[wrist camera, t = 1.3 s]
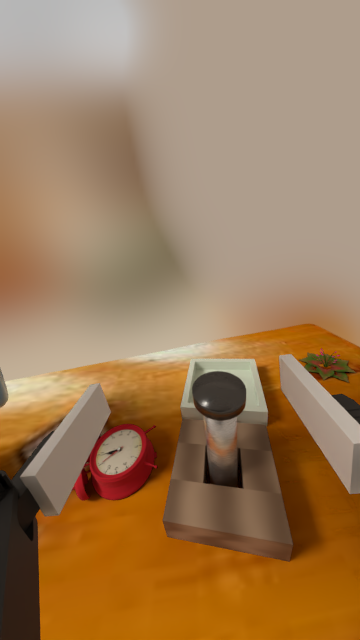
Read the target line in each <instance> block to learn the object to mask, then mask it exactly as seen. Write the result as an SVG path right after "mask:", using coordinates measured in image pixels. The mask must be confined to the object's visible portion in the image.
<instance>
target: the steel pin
mask: <svg viewBox="0 0 360 640" xmlns="http://www.w3.org/2000/svg"><path fill="white" fill-rule="evenodd" d="M192 394H193V402H194V405H195V408H196V409H197V410H198V412H199V413H201V414H202V415H203V416H204V426H205V435H206V445H207V455H208V464H209V474H210V483H211V484H213V485H220V486H228V487H235V488H237V487H238V465H237V416H238V415H240V414H241V413H242V412H243V410H244V408H245V406H246V387H245V384H244V383H243V381H242V380H241V379H240V378H238V377H237V376H235V375H233V374H231V373H228V372H223V371H213V372H208V373H205V374H203V375H201V376H200V377H198V378H197V379H196V380H195V382H194V383H193V386H192Z"/></svg>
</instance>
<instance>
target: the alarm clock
mask: <svg viewBox="0 0 360 640" xmlns="http://www.w3.org/2000/svg"><path fill="white" fill-rule="evenodd" d="M155 427H156V426H155V425H154V426H153V427H152V428H150V429H149V430H147V431H146V432H144V431H143V430H142V429H141V428H140V427H138V426H136V425H133V424H123V425H119V426H116V427H114V428H112V429H110V430H109V431H107V432H106V433H105V434H104V435H102V436H101V437H100V435H99V437H98V439H97V441H96V443H95V445H94V447H93V449H92V451H91V453H90V455H89V457H88V459H87V461H86V462H90V463H89V464H86V463H85V465H84V467H85V466H87V465H90V470H89V471H87V472H86V471H85V469H84V468H83V469H82V471H81V473H80V475H79V477H78V479H77V481H76V483H75V485H74V486H75V487H73V488H72V490H74V489H75V490H76V494H77V496H78V497H79V499H81V500H87V499H89V498H90V495H89V496H87V494H86V492H85V489H84V486H85V485H86V484H87V483H88V482H89V481H88V477H87V473H88V472H90V471H91V473H92V474H91V478H92V484H93V487H94V489H95V491H96V492H97V493H98V494H99V495H100V496H101V497H103V498H105V499H108V500H119V499H123V498H125V497H128V496H130V495H131V494H133V493H134V492H136V491H137V490H138V489H139V488H140V487H141V486H142V485H143V484H144V483H145V481H146V480H147V479H148V477H149V475H150V473H151V471H152V468H153V467H155V469H157V467H158V466H157V465H154V459H155V458H157V454H156V452H154V448H153V445H152V443H151V441H150V440H149V439H148V438H147V436H146V433H147V432H149V431H150V430H151V429H153V428H155Z"/></svg>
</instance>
